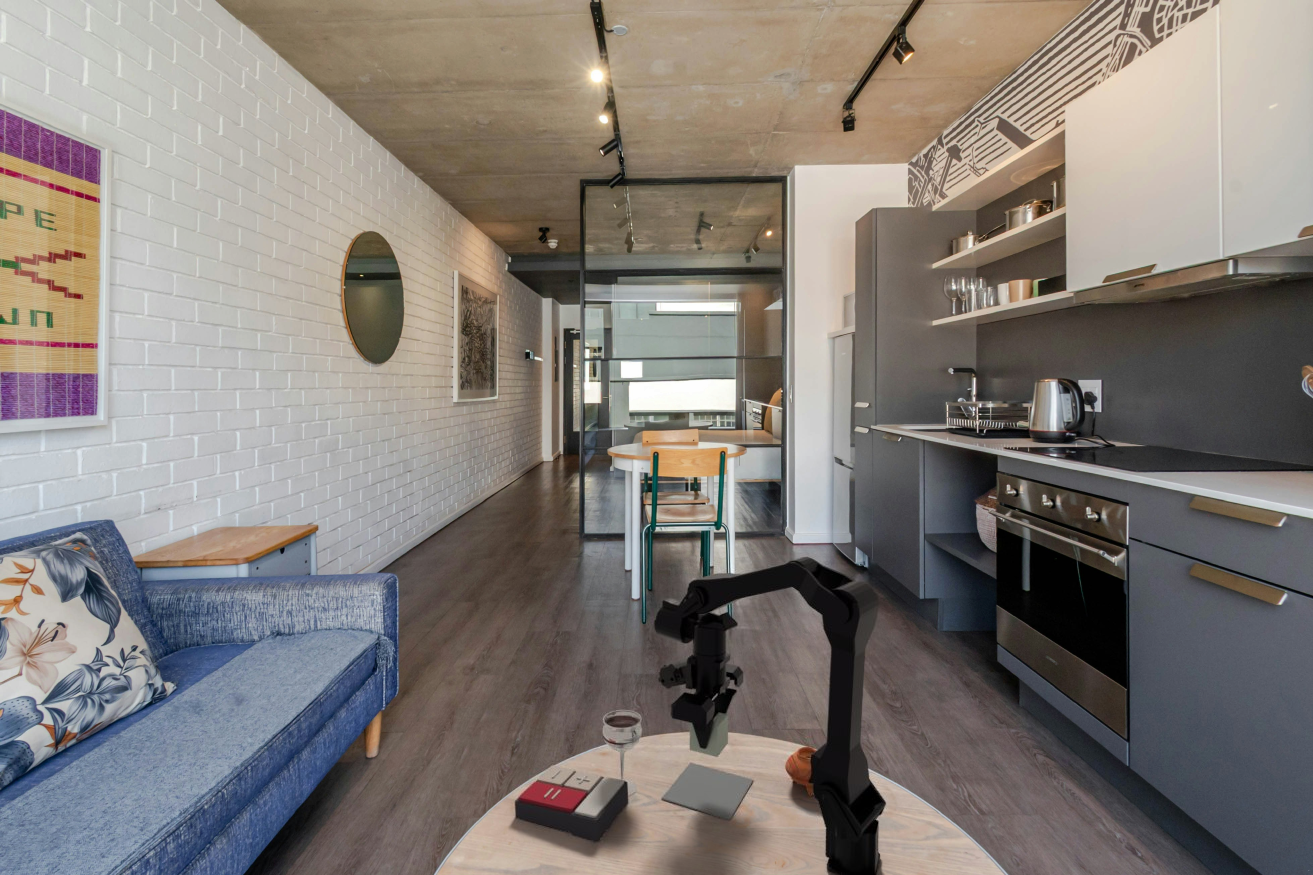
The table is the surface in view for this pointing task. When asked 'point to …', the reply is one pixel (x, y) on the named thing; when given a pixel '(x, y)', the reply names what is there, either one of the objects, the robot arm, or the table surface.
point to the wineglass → (622, 735)
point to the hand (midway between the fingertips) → (709, 740)
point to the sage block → (712, 737)
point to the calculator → (573, 802)
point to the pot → (801, 767)
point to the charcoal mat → (708, 790)
